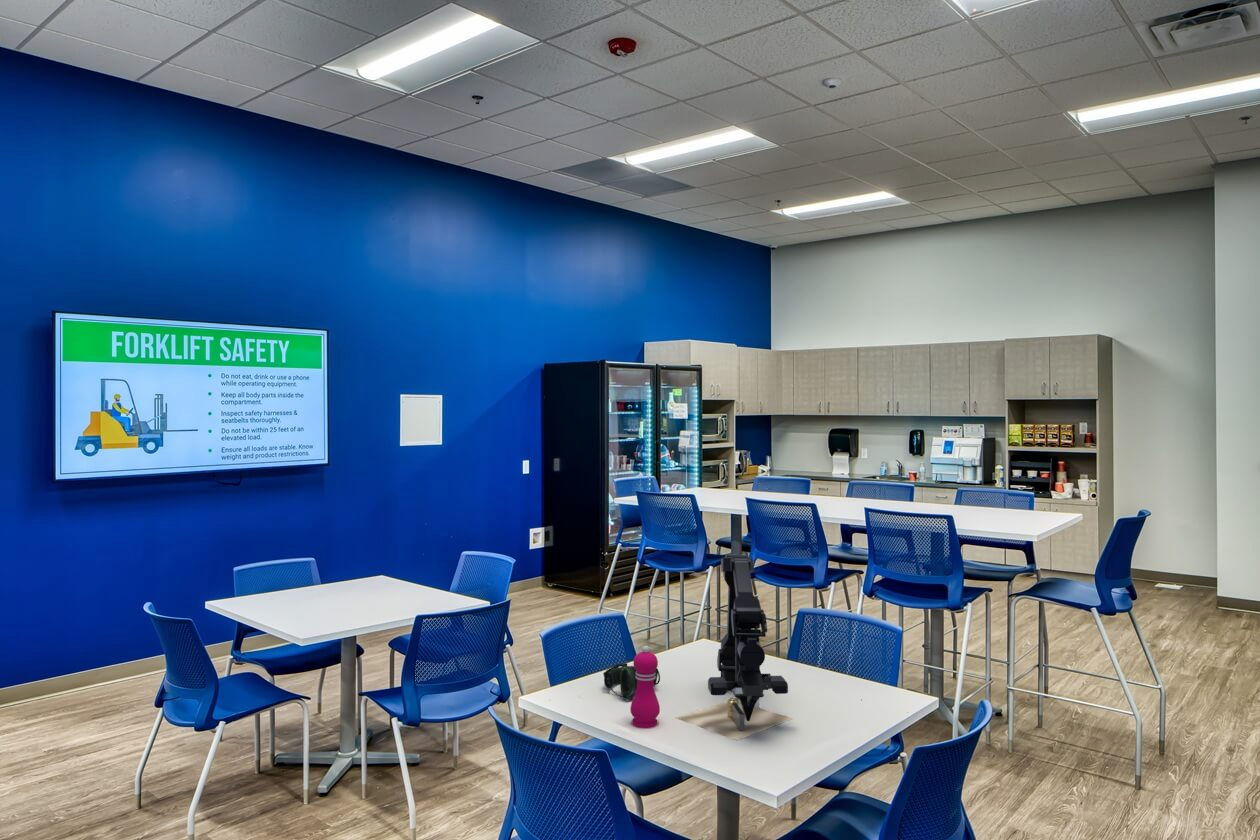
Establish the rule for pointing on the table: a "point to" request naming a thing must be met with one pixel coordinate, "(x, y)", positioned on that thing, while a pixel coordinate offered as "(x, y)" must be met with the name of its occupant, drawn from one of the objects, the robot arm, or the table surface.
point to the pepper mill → (645, 691)
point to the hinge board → (723, 725)
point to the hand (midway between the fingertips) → (747, 720)
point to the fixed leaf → (736, 700)
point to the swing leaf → (737, 715)
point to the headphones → (624, 679)
